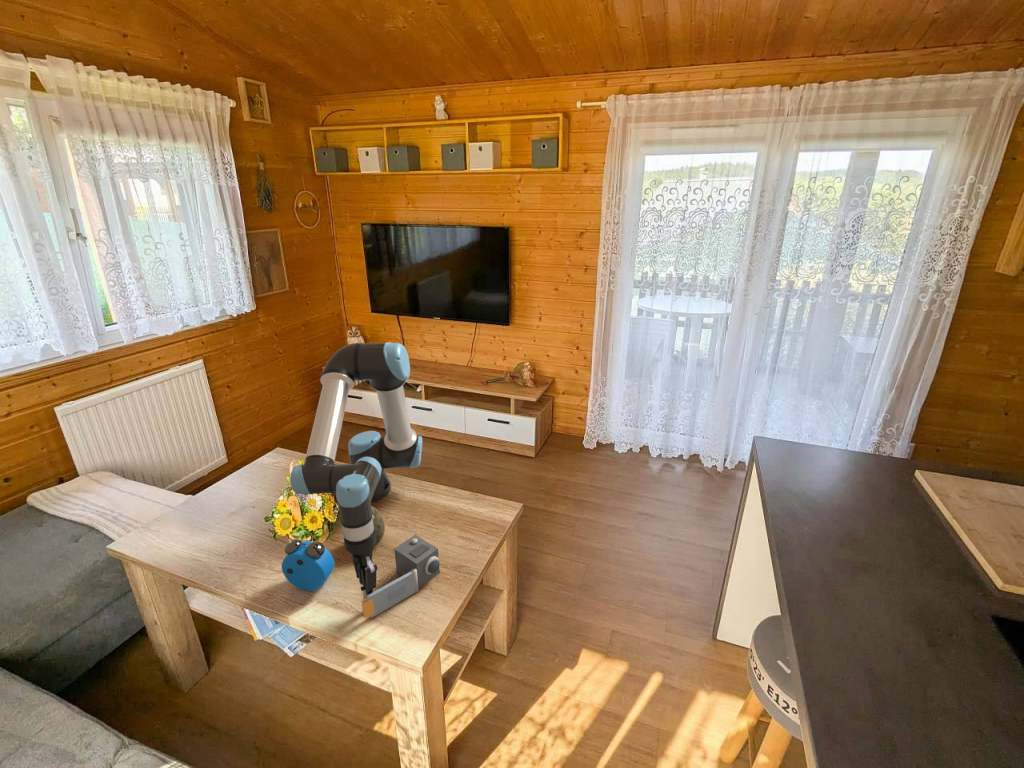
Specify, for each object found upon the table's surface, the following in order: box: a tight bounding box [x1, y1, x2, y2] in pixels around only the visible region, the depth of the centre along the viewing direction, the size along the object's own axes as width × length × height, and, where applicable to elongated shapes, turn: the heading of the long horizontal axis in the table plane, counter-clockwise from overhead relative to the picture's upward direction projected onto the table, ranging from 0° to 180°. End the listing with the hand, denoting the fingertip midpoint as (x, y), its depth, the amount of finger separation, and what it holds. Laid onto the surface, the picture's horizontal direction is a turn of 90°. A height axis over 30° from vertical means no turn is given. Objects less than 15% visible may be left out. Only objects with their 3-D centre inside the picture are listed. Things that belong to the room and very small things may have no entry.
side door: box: [360, 568, 420, 620], centre depth 130 cm, size 16×1×7 cm, turn 132°
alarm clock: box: [281, 538, 335, 592], centre depth 136 cm, size 13×6×15 cm, turn 80°
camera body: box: [393, 534, 441, 589], centre depth 140 cm, size 11×8×10 cm
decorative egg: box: [371, 505, 386, 547], centre depth 151 cm, size 11×11×15 cm
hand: (369, 602), depth 130 cm, fingers closed
